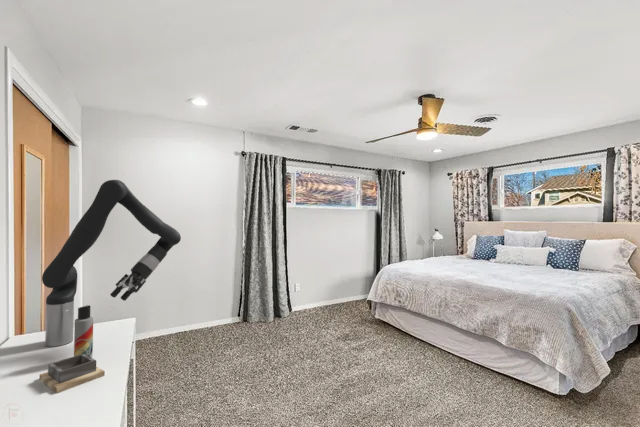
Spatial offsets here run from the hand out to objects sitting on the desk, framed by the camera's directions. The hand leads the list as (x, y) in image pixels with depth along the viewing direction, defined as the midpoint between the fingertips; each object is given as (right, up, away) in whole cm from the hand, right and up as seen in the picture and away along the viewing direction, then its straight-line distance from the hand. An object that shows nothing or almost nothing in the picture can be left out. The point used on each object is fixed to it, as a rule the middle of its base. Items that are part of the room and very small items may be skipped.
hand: (117, 297), depth 130 cm
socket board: (0, -20, -24) cm, 31 cm away
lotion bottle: (-6, -21, -10) cm, 24 cm away
